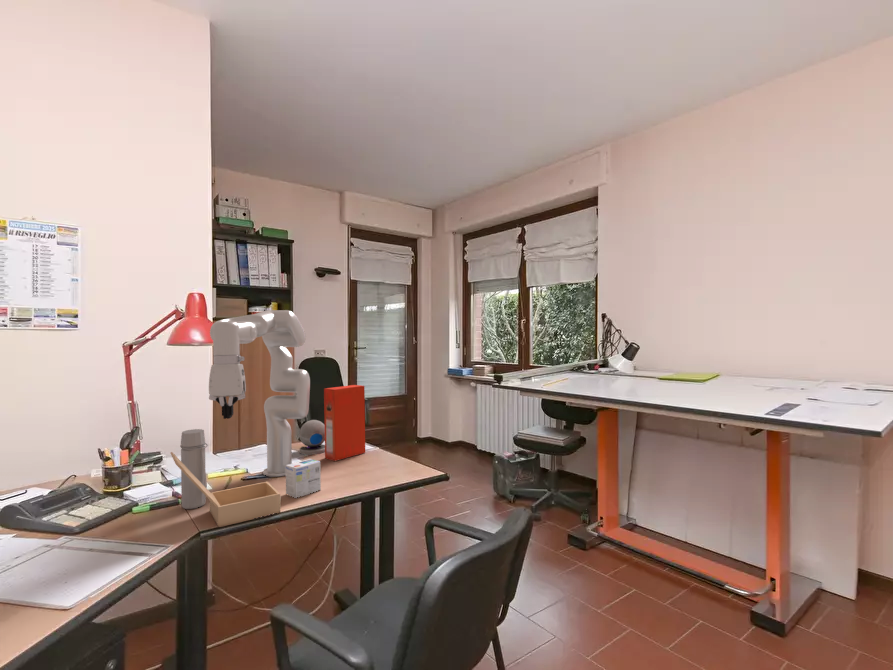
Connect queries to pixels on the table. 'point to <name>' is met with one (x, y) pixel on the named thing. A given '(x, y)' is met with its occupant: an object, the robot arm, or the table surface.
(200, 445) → the water bottle
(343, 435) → the file binder
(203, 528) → the table surface
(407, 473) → the table surface
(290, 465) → the light bulb box
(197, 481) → the lid
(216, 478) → the table surface
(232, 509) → the cardboard tray
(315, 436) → the webcam
